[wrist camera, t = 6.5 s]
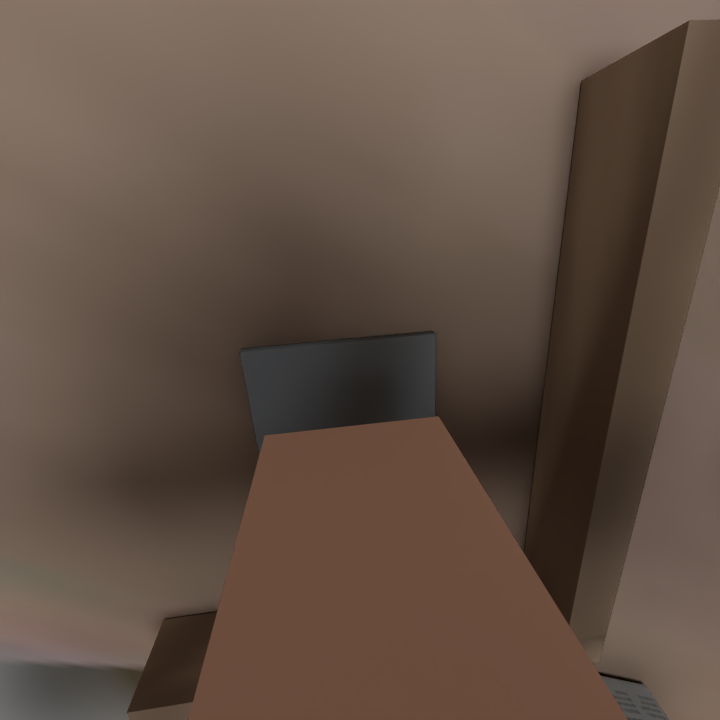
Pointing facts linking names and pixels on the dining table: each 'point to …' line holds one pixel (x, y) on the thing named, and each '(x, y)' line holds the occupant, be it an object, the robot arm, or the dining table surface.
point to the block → (386, 593)
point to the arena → (566, 350)
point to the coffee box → (634, 700)
